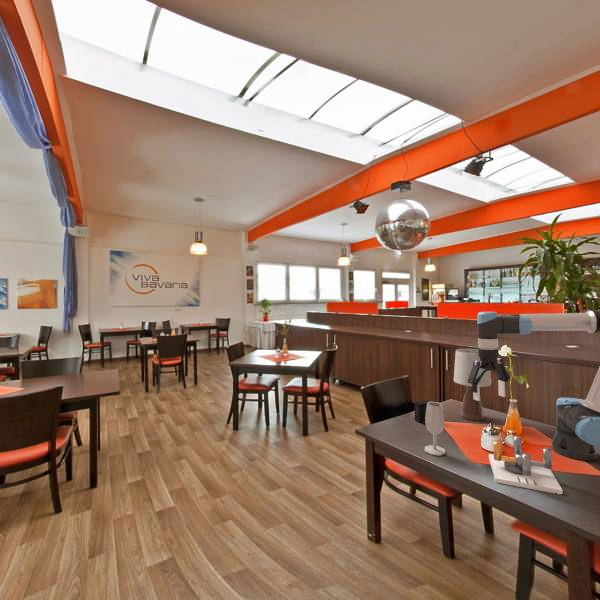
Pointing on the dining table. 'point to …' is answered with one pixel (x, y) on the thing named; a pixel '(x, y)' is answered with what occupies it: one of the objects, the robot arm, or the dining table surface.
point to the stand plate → (526, 477)
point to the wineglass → (434, 426)
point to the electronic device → (420, 411)
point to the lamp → (461, 375)
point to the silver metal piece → (521, 458)
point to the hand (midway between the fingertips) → (489, 398)
